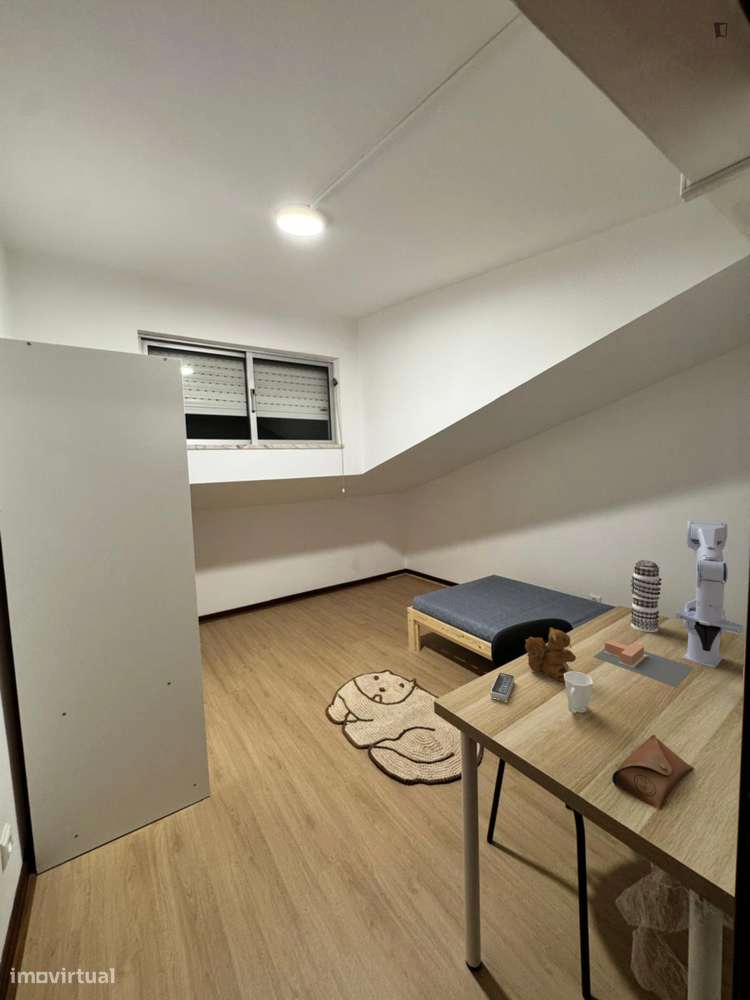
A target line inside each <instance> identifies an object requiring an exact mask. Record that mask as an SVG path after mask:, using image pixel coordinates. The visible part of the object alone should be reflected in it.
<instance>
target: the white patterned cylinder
mask: <svg viewBox="0 0 750 1000" xmlns="http://www.w3.org/2000/svg"><path fill="white" fill-rule="evenodd" d="M633 566H634V567H633V568H634V569H633V575H632V576H631V580H630V582H631V589H630V592H631V596H632V600H633V601H632V603H631V604H632V605H631V608H630V609H631V611H630V613H631V614H632V615H631V616H630V618H631V620H630V626H631V627H632V628H633V629H635V630H638V631H641V632H645V633H656V632H658V631H659V618H660V615H659V614H660V612H659V602H658V601H659V600H660V596H658V595H661V592H660V591H661V590H662V589H661V587H660V586H661V585H662V583H661V582H662V580H663V579H662V578H660V568H661V567H660V566H659V565H658V564H657V563H656V562H654V561H651V560H637V561H636V562H635V563H633Z"/></svg>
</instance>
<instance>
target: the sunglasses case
mask: <svg viewBox="0 0 750 1000" xmlns="http://www.w3.org/2000/svg"><path fill="white" fill-rule="evenodd" d="M693 769H694V766H693V765H691V764H689V763H687V762H685V760H683V758H681V757H680V756H679V755H678V754H677V753H675V752H674V751H672V749H670V748H669V747H668V746H667V745H666V744H665V743H663V742H662V741H661V740H660V739H658V738H657V735H655V734H651V735H650V736H649V737H648V739H646V740H644V741H643V743H641V744H640V745H639V746H638V747H637V748H636V749H635V750H634V751H633V752H632V753H631V754H630V755H629V756H628V757H627V758H626V759H625V760H624V761H623V762H622V763H621V764H620V766H618V768H617V769H616V770H615V772H613V774H612V775H611V776H612V782H613V784H614V786H616V787H617V788H619V789H621V790H623V792H626V793H627V794H629V795H632V796H633V797H635V799H636V798H637V799H638V800H640V801H641V802H643V803H645V804H647V805H648V806H651V807H652V808H654V809H655V810H656V811H660V810H661V809H662V807H663V805H664V802H665V800H666V799H667V797H668V796H669V794H670V792H672V790H673V789H674V788H675V787H676V786H677V784H678V783H679V782H680V781H681V780H682V779H683V778H684V776H685V775H687V773H689V772H691V771H692V770H693Z"/></svg>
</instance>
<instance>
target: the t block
mask: <svg viewBox="0 0 750 1000" xmlns="http://www.w3.org/2000/svg"><path fill="white" fill-rule="evenodd" d="M626 645H627V644H624V645H623V643H620V642H617V641H613V640H611V639H609V640H607V641H605V643H604V649H605V652H608V653H611V654H614V655H617V656H620V657H621V658H620V662H622V663H624V664H627V665H630V666H632V665H633V664H634V663H635V662H636V661H638V660H639V659H640V658H641V657H642V656H643V655H644V651H645V646H644V645H641V644H638V643H634V642H633V643H631V644H630V645H627V646H626Z"/></svg>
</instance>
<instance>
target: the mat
mask: <svg viewBox="0 0 750 1000" xmlns="http://www.w3.org/2000/svg"><path fill="white" fill-rule="evenodd" d="M622 644H623V643H622ZM623 645H626V646H628V645H627V644H623ZM593 658H595V659H598V660H601V661H603V662H606V663H609V664H611V665H614V666H618V667H619V668H621V669H625V670H627V671H630V672H633V673H636V674H639V675H641V676H644V677H647V678H649V679H652V680H656V681H657V682H660V683H664V684H666V685H669V686H672V687H674V688H677V687H678V686H679V685H680V684H681V682H683V680H685V678H686V677H687V676H688V675H689V674H690V672H692V671H693V670H694V668H695V667H694V666H691V665H688V664H685V663H682V662H679V661H676V660H673V659H669V658H667V657H664V656H661V655H658V654H654V653H651V652H648V651H645V650H644V655H643V656H642V657H641V658H640V659H639V660H638V661H636V662H635V663H634V664H633V665H632V666H630V665H627V664H624V663H622V662H620V658H621V657H620V656H617V655H614V654H611V653H608V652H605V648H603V649H602V650H600V651H599V652H598V653H597V654H595V655H594V656H593Z"/></svg>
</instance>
